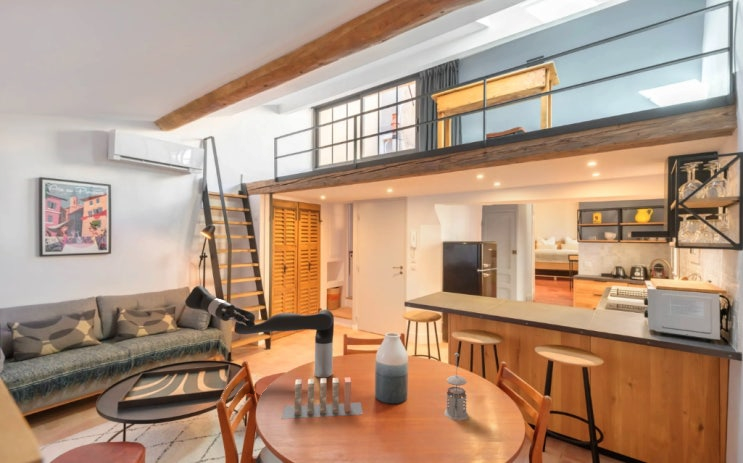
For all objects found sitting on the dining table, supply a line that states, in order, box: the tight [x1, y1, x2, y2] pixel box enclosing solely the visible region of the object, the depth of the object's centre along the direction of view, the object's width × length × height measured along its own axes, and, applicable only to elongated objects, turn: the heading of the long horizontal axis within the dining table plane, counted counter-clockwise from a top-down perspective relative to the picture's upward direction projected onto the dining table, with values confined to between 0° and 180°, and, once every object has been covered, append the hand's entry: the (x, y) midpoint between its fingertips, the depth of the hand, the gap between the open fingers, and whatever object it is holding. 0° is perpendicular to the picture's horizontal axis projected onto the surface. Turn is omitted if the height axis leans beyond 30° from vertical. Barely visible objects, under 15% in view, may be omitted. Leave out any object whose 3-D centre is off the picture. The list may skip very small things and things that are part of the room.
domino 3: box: [319, 377, 327, 413], centre depth 141 cm, size 2×5×12 cm, turn 8°
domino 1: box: [294, 378, 303, 415], centre depth 140 cm, size 2×5×12 cm, turn 8°
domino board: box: [281, 402, 364, 420], centre depth 141 cm, size 10×32×1 cm, turn 98°
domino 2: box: [307, 378, 315, 414], centre depth 140 cm, size 2×5×12 cm, turn 8°
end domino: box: [343, 376, 352, 412], centre depth 142 cm, size 2×5×12 cm, turn 8°
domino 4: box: [331, 377, 340, 413], centre depth 142 cm, size 2×5×12 cm, turn 8°
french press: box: [443, 352, 469, 421], centre depth 140 cm, size 10×12×25 cm
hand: (248, 322), depth 146 cm, fingers open, 8 cm apart
